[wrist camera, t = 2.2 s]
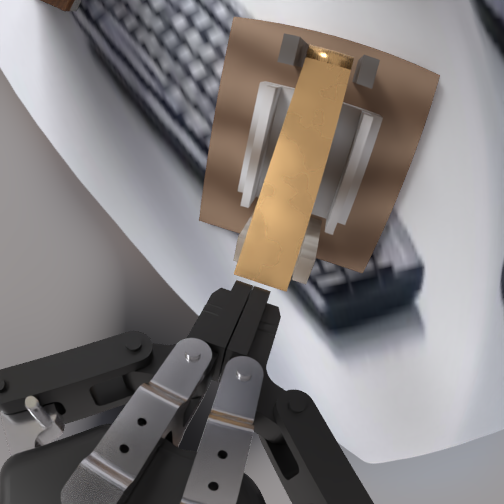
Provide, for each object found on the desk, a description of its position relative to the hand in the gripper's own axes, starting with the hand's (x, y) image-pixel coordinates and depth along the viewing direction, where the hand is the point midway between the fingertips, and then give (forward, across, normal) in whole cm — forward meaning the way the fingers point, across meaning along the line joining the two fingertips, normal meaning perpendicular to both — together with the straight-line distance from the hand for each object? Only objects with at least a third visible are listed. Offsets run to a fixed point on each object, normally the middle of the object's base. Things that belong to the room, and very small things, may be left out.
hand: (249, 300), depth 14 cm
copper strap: (+9, 0, -4) cm, 10 cm away
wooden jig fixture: (+19, 0, -2) cm, 19 cm away
